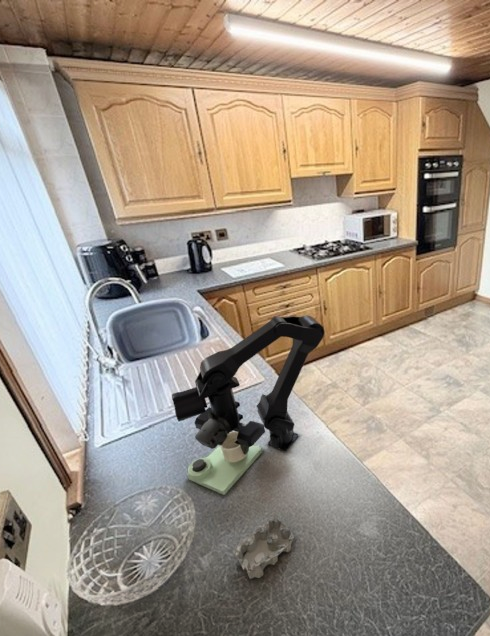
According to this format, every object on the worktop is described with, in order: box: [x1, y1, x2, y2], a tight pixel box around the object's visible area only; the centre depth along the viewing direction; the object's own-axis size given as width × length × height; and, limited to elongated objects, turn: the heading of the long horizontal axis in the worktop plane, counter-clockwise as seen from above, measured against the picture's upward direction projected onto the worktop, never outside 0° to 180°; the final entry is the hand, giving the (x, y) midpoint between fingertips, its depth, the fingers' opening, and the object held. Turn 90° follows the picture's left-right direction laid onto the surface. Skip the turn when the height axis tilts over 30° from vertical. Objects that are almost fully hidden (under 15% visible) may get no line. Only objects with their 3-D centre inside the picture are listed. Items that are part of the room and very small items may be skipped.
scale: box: [187, 444, 264, 496], centre depth 93 cm, size 15×13×3 cm
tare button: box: [193, 458, 205, 472], centre depth 90 cm, size 3×3×2 cm
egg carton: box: [234, 514, 295, 580], centre depth 72 cm, size 11×8×4 cm
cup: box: [220, 431, 249, 462], centre depth 93 cm, size 7×7×5 cm
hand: (235, 449), depth 93 cm, fingers closed on cup, 6 cm apart
